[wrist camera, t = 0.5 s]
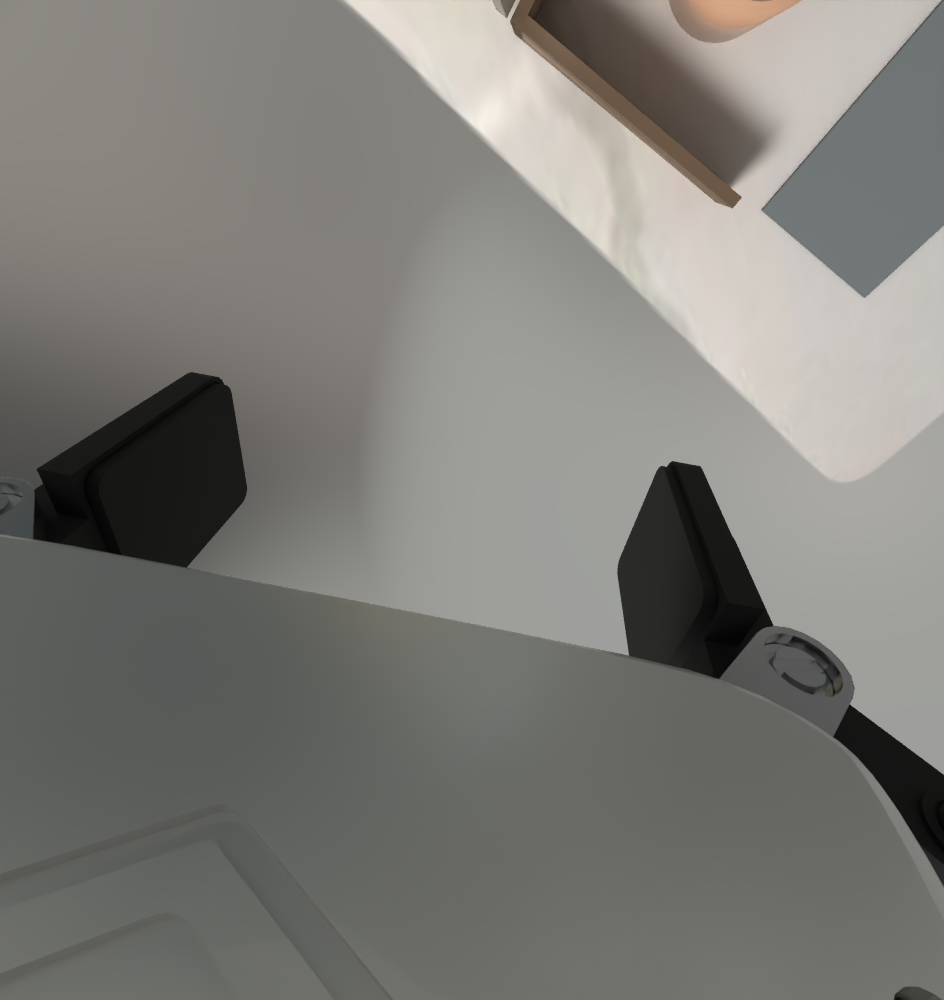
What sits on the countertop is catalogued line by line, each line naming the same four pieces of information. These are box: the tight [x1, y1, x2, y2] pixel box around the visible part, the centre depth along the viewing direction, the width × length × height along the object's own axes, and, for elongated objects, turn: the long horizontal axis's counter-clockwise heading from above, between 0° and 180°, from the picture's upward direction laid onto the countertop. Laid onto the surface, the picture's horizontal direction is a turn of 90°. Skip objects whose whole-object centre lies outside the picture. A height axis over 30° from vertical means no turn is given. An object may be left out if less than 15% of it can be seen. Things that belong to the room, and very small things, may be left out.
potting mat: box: [762, 0, 944, 298], centre depth 27 cm, size 13×9×1 cm
